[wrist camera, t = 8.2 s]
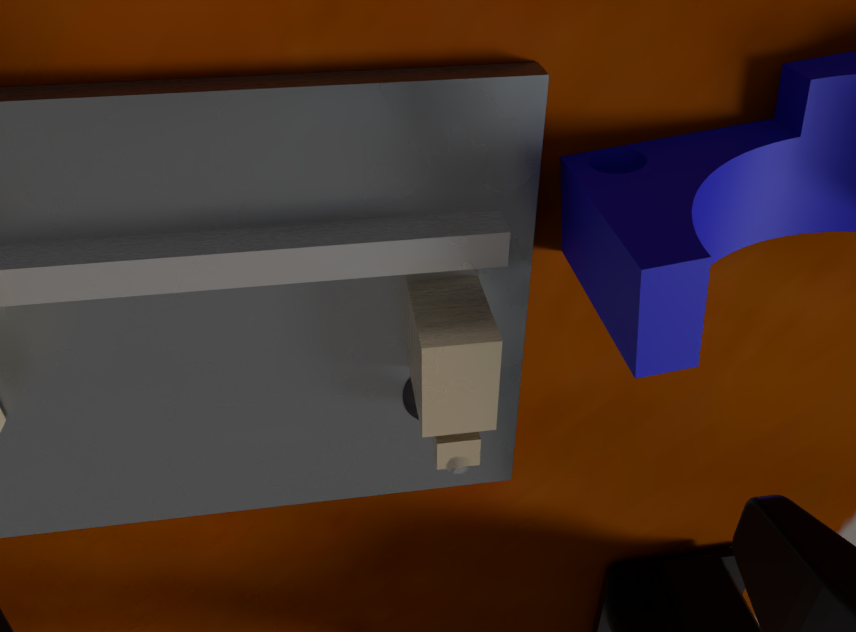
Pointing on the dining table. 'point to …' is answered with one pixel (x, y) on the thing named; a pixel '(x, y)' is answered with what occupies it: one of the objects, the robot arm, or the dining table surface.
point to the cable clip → (706, 208)
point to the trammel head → (1, 420)
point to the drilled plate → (261, 289)
